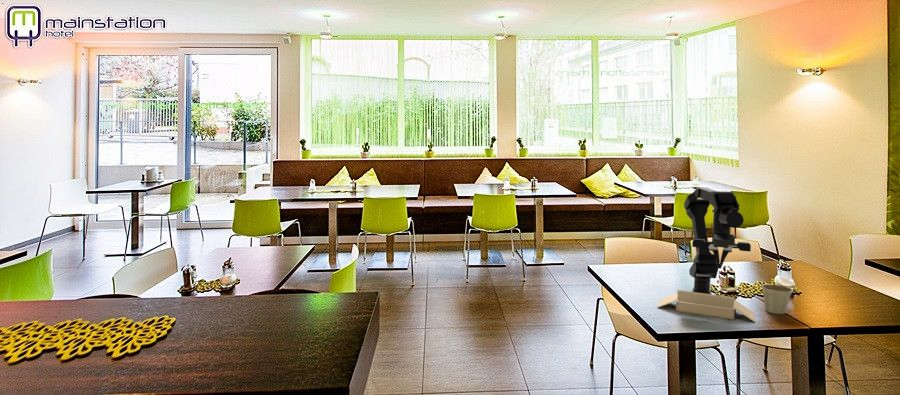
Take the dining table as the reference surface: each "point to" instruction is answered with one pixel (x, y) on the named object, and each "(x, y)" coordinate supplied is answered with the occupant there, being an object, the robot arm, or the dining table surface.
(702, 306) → the carton
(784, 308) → the flower pot
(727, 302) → the flap
